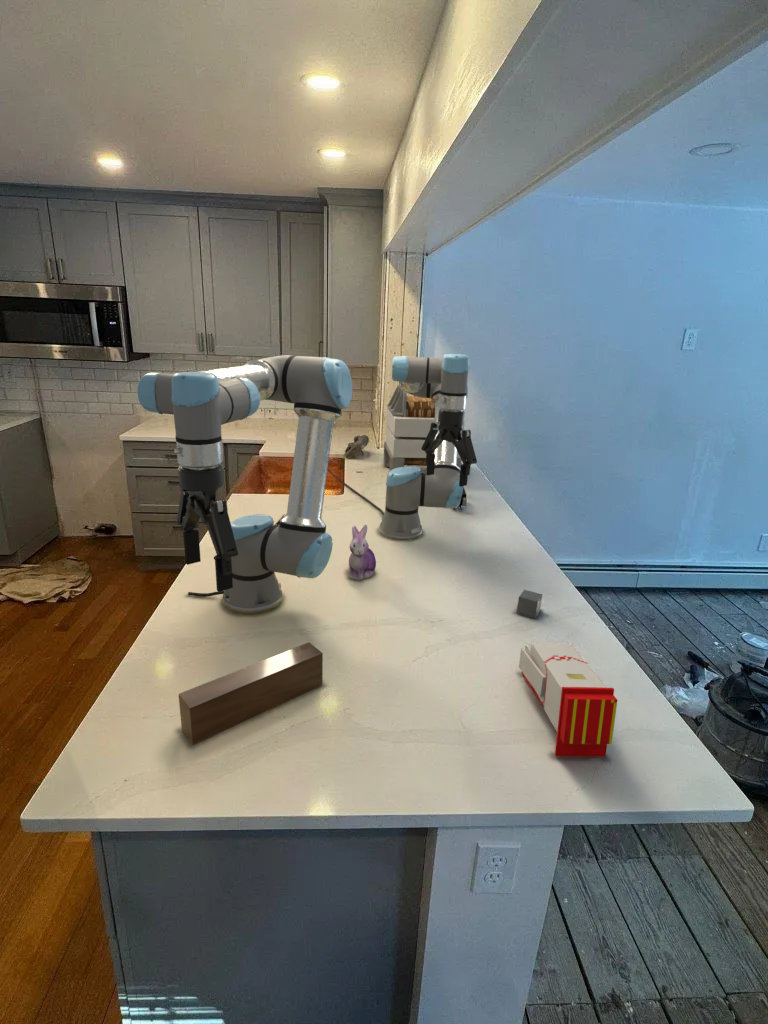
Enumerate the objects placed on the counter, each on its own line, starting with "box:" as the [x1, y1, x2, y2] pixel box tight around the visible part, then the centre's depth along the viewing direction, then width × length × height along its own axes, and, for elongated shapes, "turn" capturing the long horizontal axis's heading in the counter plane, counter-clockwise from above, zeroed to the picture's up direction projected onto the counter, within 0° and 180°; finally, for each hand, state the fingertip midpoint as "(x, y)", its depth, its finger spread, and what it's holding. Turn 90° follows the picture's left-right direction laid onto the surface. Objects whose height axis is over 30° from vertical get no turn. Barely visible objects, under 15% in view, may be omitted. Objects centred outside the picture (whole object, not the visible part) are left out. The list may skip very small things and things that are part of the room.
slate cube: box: [516, 588, 543, 619], centre depth 151 cm, size 5×5×5 cm
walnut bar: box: [178, 641, 324, 746], centre depth 110 cm, size 5×28×8 cm, turn 131°
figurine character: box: [452, 486, 468, 511], centre depth 230 cm, size 7×8×15 cm
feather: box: [274, 514, 286, 526], centre depth 209 cm, size 2×28×2 cm
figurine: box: [347, 524, 377, 580], centre depth 166 cm, size 9×10×15 cm
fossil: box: [344, 434, 370, 459], centre depth 303 cm, size 22×10×15 cm
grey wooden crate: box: [383, 384, 465, 472], centre depth 268 cm, size 34×33×41 cm
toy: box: [518, 642, 618, 758], centre depth 113 cm, size 12×13×30 cm
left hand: (208, 575), depth 105 cm, fingers open, 13 cm apart
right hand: (446, 480), depth 171 cm, fingers open, 13 cm apart
